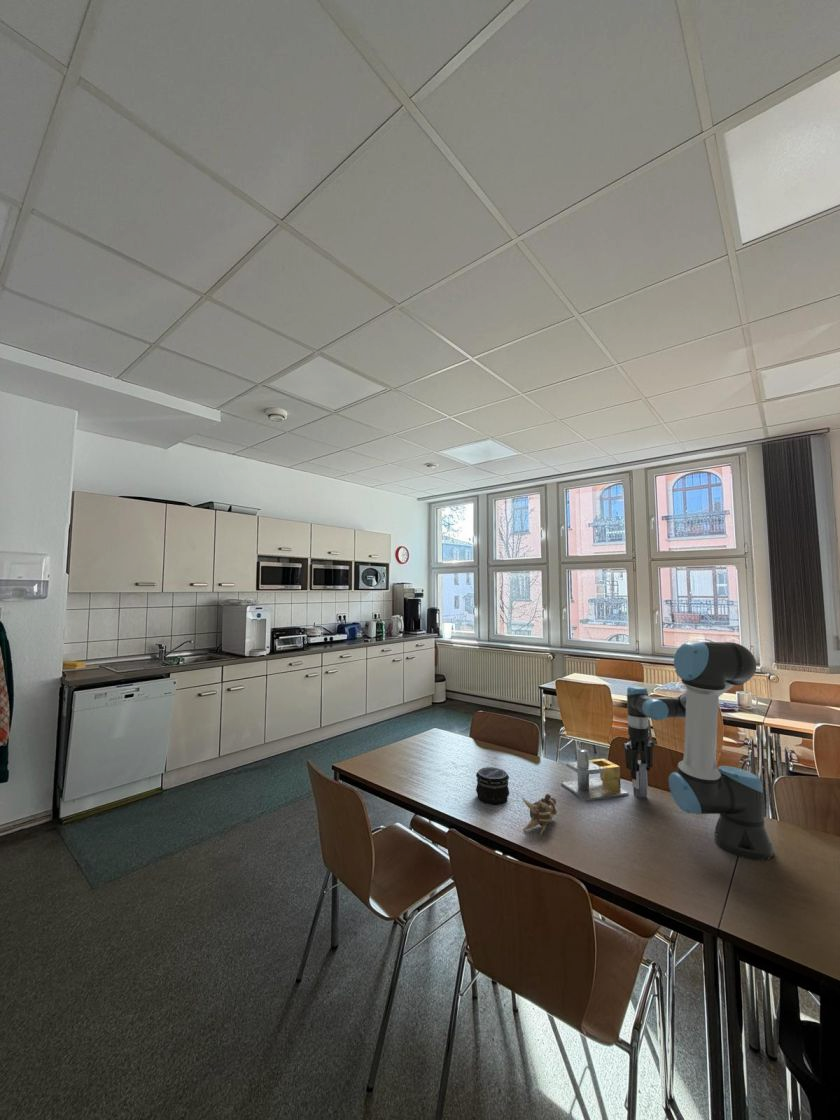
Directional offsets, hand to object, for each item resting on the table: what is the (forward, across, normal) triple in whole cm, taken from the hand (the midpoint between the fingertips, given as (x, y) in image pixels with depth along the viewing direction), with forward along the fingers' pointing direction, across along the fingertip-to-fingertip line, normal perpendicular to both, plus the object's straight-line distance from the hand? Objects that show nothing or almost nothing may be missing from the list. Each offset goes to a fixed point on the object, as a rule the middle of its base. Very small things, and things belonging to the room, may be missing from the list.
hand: (640, 786), depth 178 cm
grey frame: (+4, +14, -10) cm, 18 cm away
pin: (+4, 0, 0) cm, 4 cm away
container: (+4, +58, -14) cm, 60 cm away
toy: (+4, +51, +10) cm, 52 cm away
